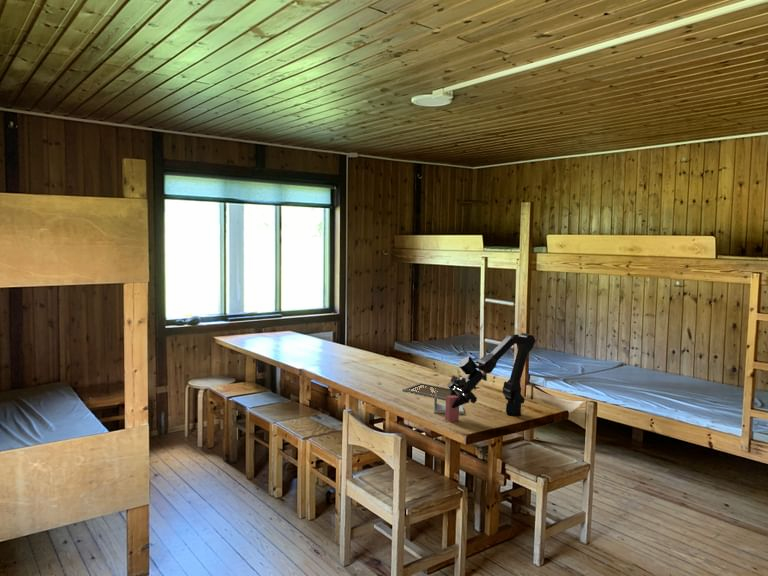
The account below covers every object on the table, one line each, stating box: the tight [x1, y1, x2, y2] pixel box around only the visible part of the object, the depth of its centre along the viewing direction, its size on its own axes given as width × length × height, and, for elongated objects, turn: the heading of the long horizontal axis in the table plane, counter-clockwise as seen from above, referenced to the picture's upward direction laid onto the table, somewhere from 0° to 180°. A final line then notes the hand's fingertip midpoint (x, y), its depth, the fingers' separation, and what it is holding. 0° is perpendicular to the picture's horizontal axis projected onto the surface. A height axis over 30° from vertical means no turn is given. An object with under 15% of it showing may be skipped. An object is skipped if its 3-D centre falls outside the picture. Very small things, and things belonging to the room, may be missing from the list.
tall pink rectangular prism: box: [444, 395, 460, 422], centre depth 261 cm, size 5×4×11 cm
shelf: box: [433, 391, 465, 415], centre depth 277 cm, size 14×12×8 cm
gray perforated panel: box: [402, 382, 459, 401], centre depth 309 cm, size 19×2×30 cm
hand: (449, 406), depth 261 cm, fingers open, 5 cm apart
